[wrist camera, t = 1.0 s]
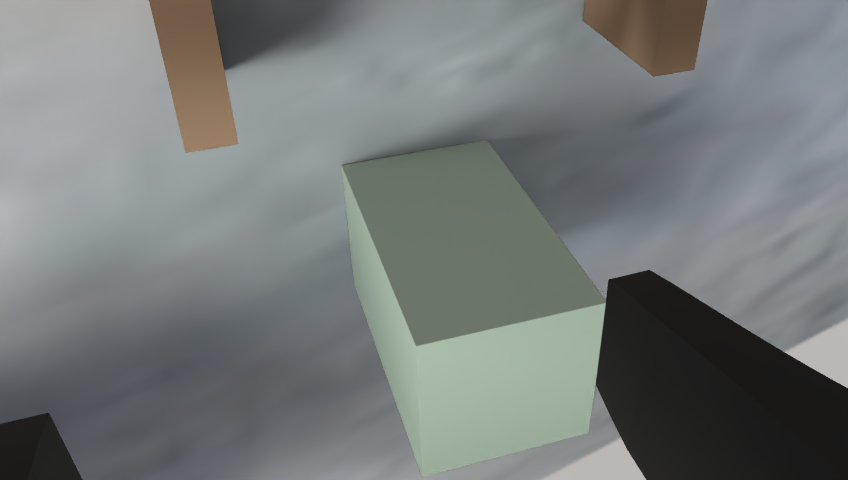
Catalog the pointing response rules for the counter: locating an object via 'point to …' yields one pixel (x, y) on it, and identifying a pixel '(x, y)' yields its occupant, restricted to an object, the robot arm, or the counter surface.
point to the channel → (207, 88)
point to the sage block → (471, 305)
